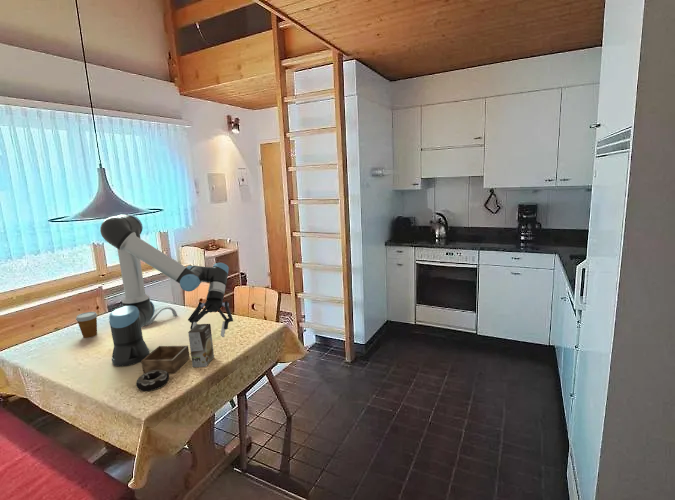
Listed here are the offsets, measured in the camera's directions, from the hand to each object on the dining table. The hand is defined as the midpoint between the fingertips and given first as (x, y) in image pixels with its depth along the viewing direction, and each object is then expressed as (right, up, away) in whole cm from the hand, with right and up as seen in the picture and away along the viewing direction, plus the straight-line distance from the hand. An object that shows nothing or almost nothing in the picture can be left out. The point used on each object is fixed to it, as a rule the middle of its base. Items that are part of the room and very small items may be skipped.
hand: (207, 336), depth 162 cm
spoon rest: (-49, -3, +52) cm, 71 cm away
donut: (-15, -15, -17) cm, 27 cm away
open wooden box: (-16, -12, -3) cm, 20 cm away
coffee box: (-1, -11, -1) cm, 11 cm away
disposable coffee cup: (-75, -8, +34) cm, 83 cm away
